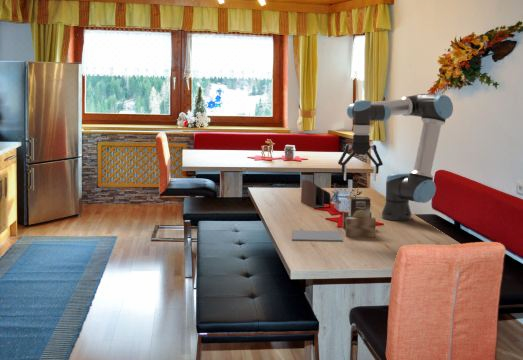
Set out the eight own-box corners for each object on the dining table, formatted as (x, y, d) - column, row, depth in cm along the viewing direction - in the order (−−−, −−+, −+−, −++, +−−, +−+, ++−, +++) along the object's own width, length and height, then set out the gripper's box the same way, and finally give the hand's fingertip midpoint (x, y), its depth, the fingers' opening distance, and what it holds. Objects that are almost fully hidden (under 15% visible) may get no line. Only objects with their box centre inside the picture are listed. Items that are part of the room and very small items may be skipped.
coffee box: (349, 233, 308) (350, 199, 306) (347, 230, 314) (348, 196, 312) (369, 233, 308) (370, 199, 306) (366, 230, 315) (368, 196, 312)
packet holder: (369, 227, 321) (370, 211, 320) (375, 236, 301) (375, 219, 300) (342, 226, 322) (343, 210, 320) (346, 236, 302) (346, 218, 301)
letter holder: (314, 208, 368) (315, 183, 366) (300, 202, 387) (301, 178, 385) (330, 207, 372) (331, 182, 370) (316, 201, 390) (317, 177, 388)
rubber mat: (339, 232, 310) (339, 231, 310) (342, 241, 292) (342, 240, 292) (291, 231, 311) (291, 230, 311) (292, 240, 293) (292, 239, 293)
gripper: (387, 134, 308) (385, 179, 311) (333, 133, 309) (332, 178, 312) (390, 135, 301) (388, 182, 304) (334, 134, 302) (333, 180, 305)
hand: (359, 180), depth 308 cm, fingers open, 13 cm apart
